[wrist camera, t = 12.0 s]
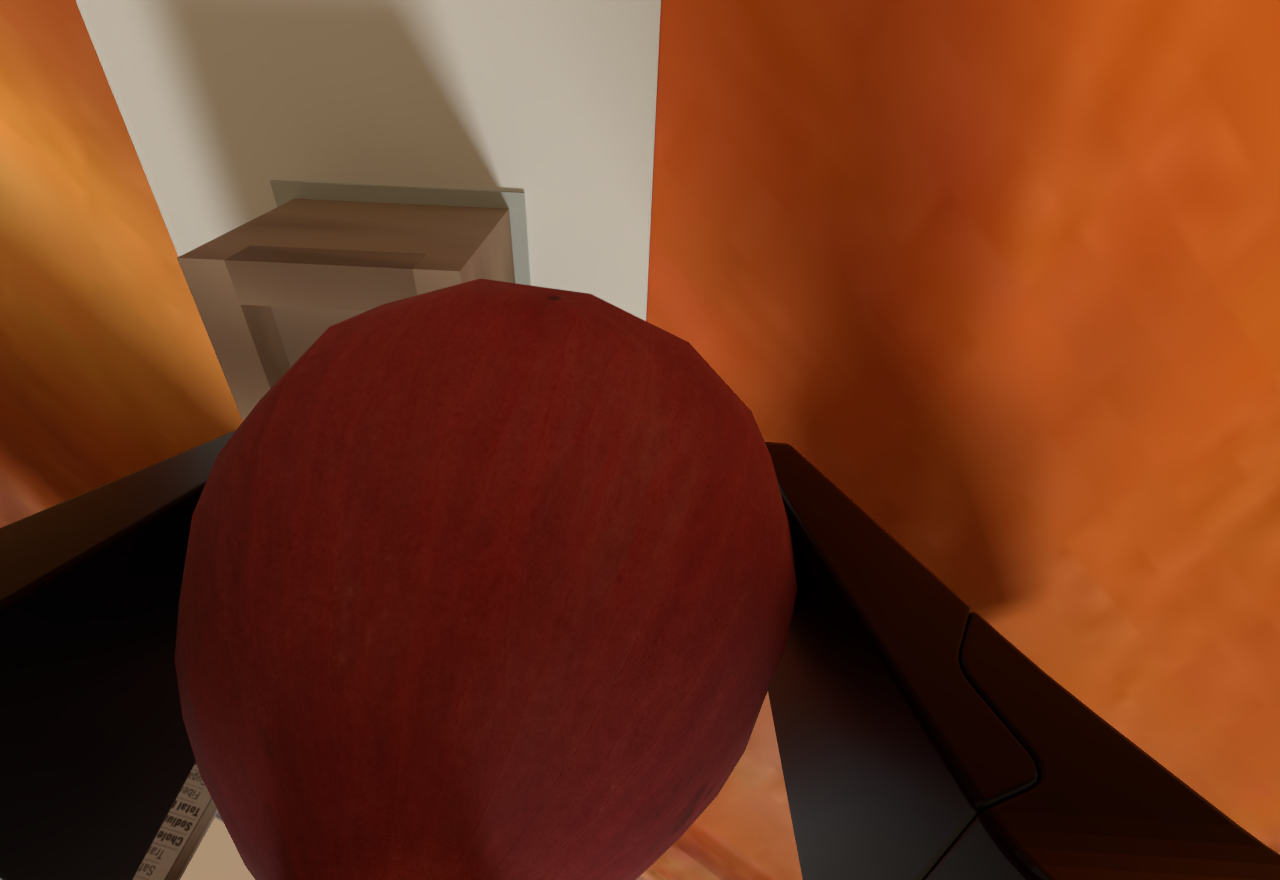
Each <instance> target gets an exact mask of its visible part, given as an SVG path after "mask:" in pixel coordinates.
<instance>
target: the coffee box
mask: <svg viewBox="0 0 1280 880" xmlns="http://www.w3.org/2000/svg"><path fill="white" fill-rule="evenodd" d="M217 812H218V810H217V808H216V806H215V804H214V802H213V800H212V798H211V796H210V794H209V792H208V790H207V788H206V785H205V783H204V781H203V779H202V777H201V775H200V773H199V769H198V766H197V763H195V765H194V767H193V769H192V770H191V772H190V774H189V776H188V778H187V780H186V782H185V783H184V785H183V787H182V789H181V791H180V793H179V795H178V796H177V798H176V800H175V802H174V804H173V806H172V808H171V809H170V811H169V813H168V815H167V817H166V819H165V821H164V822H163V824H162V826H161V828H160V830H159V832H158V834H157V835H156V837H155V839H154V841H153V843H152V845H151V847H150V849H149V850H148V852H147V854H146V856H145V858H144V860H143V862H142V863H141V865H140V867H139V869H138V871H137V873H136V875H135V876H134V878H133V880H180V878H181V877H182V875H183V873H184V871H185V869H186V868H187V866H188V864H189V862H190V861H191V859H192V857H193V855H194V853H195V852H196V850H197V848H198V846H199V845H200V843H201V841H202V839H203V837H204V836H205V834H206V832H207V830H208V828H209V827H210V825H211V823H212V821H213V820H214V818H215V816H216V814H217Z"/></svg>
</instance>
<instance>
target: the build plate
mask: <svg viewBox="0 0 1280 880" xmlns="http://www.w3.org/2000/svg"><path fill="white" fill-rule="evenodd" d="M76 3H77V5H78V8H79V10H80V12H81V15H82V17H83V20H84V22H85V25H86V27H87V30H88V32H89V35H90V37H91V40H92V42H93V45H94V47H95V50H96V52H97V55H98V57H99V60H100V62H101V65H102V67H103V70H104V72H105V75H106V77H107V80H108V82H109V85H110V87H111V90H112V92H113V95H114V97H115V100H116V102H117V105H118V107H119V110H120V112H121V115H122V117H123V120H124V122H125V125H126V127H127V130H128V132H129V135H130V137H131V139H132V142H133V144H134V147H135V149H136V152H137V154H138V157H139V159H140V162H141V164H142V167H143V169H144V172H145V174H146V177H147V179H148V182H149V184H150V187H151V189H152V192H153V194H154V197H155V199H156V202H157V204H158V207H159V209H160V212H161V214H162V217H163V219H164V222H165V224H166V227H167V229H168V232H169V234H170V237H171V239H172V242H173V244H174V247H175V249H176V252H177V254H178V257H180V256H182V255H184V254H186V253H188V252H190V251H192V250H194V249H195V248H197V247H199V246H201V245H203V244H205V243H207V242H209V241H211V240H213V239H215V238H217V237H219V236H221V235H223V234H225V233H227V232H229V231H231V230H233V229H235V228H237V227H239V226H241V225H243V224H245V223H247V222H249V221H251V220H253V219H255V218H257V217H259V216H261V215H263V214H265V213H267V212H269V211H271V210H273V209H275V208H277V207H279V206H281V205H283V204H285V203H287V202H289V201H291V200H293V199H313V200H334V201H355V202H376V203H397V204H418V205H440V206H461V207H482V208H503V209H509V214H510V226H511V238H512V250H513V262H514V274H515V283H516V284H524V285H531V286H538V287H545V288H552V289H560V290H567V291H574V292H581V293H588V294H592V295H594V296H596V297H598V298H600V299H602V300H604V301H606V302H608V303H610V304H612V305H614V306H616V307H618V308H620V309H622V310H624V311H626V312H628V313H630V314H632V315H634V316H636V317H638V318H640V319H642V320H644V321H646V310H647V288H648V267H649V246H650V225H651V204H652V182H653V161H654V140H655V119H656V98H657V76H658V55H659V34H660V13H661V0H76Z"/></svg>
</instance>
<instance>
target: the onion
mask: <svg viewBox="0 0 1280 880" xmlns="http://www.w3.org/2000/svg"><path fill="white" fill-rule="evenodd" d="M796 595H797V582H796V573H795V563H794V554H793V545H792V536H791V530H790V526H789V523H788V519H787V515H786V511H785V508H784V504H783V500H782V496H781V493H780V489H779V485H778V481H777V478H776V474H775V470H774V466H773V463H772V459H771V455H770V453H769V451H768V448H767V446H766V444H765V442H764V439H763V437H762V435H761V432H760V430H759V428H758V426H757V423H756V421H755V419H754V417H753V414H752V412H751V410H750V409H749V408H748V407H747V406H746V405H745V404H744V403H743V402H742V401H741V399H740V398H739V397H738V396H737V395H736V394H735V393H734V392H733V391H732V390H731V388H730V387H729V386H728V385H727V384H726V383H725V382H724V381H723V380H722V379H721V377H720V376H719V375H718V374H717V373H716V372H715V371H714V370H713V369H712V368H711V366H710V365H709V364H708V363H707V362H706V361H705V360H704V359H703V358H702V357H701V355H700V354H699V353H698V352H697V351H696V350H695V349H694V348H693V347H692V346H691V344H690V343H689V342H687V341H685V340H683V339H681V338H679V337H677V336H675V335H673V334H671V333H669V332H666V331H664V330H662V329H660V328H658V327H656V326H654V325H652V324H650V323H648V322H646V321H644V320H642V319H640V318H638V317H636V316H634V315H632V314H630V313H628V312H626V311H624V310H622V309H620V308H618V307H616V306H614V305H612V304H610V303H608V302H606V301H604V300H602V299H600V298H598V297H596V296H594V295H592V294H588V293H581V292H574V291H567V290H560V289H552V288H545V287H538V286H531V285H524V284H516V283H509V282H502V281H495V280H487V279H477V280H473V281H469V282H465V283H462V284H458V285H454V286H450V287H446V288H443V289H439V290H435V291H431V292H428V293H424V294H420V295H416V296H413V297H409V298H405V299H401V300H397V301H394V302H390V303H386V304H382V305H380V306H378V307H375V308H373V309H371V310H368V311H366V312H363V313H361V314H359V315H356V316H354V317H351V318H349V319H347V320H344V321H342V322H340V323H337V324H335V325H332V326H330V327H329V328H328V329H327V330H326V331H325V332H324V333H323V334H322V335H321V336H320V337H319V338H318V339H317V340H316V341H315V342H314V343H313V344H312V346H311V347H310V348H309V349H308V350H307V351H306V352H305V353H304V354H303V355H302V356H301V357H300V358H299V359H298V360H297V361H296V362H295V363H294V365H293V366H292V367H291V368H290V369H289V370H288V371H287V372H286V373H285V374H284V375H283V376H282V377H281V378H280V379H279V380H278V381H277V383H276V384H275V385H274V386H273V387H272V388H271V389H270V390H269V391H268V392H267V393H266V394H265V395H264V396H263V397H262V398H261V399H260V401H259V402H258V403H257V404H256V406H255V407H254V408H253V410H252V411H251V412H250V413H249V415H248V416H247V417H246V419H245V420H244V421H243V422H242V424H241V425H240V426H239V428H238V429H237V430H236V431H235V433H234V434H233V435H232V437H231V438H230V439H229V440H228V442H227V443H226V444H225V446H224V447H223V448H222V449H221V451H220V452H219V453H218V455H217V457H216V460H215V462H214V465H213V467H212V469H211V472H210V474H209V477H208V479H207V481H206V484H205V486H204V489H203V491H202V493H201V496H200V498H199V501H198V503H197V505H196V508H195V510H194V513H193V515H192V520H191V527H190V533H189V540H188V546H187V553H186V559H185V566H184V572H183V579H182V585H181V591H180V598H179V609H178V621H177V634H176V647H175V666H176V674H177V681H178V688H179V695H180V703H181V710H182V717H183V721H184V724H185V727H186V730H187V734H188V737H189V740H190V743H191V747H192V750H193V753H194V756H195V760H196V763H197V766H198V769H199V773H200V775H201V777H202V779H203V781H204V783H205V785H206V788H207V790H208V792H209V794H210V796H211V798H212V800H213V802H214V804H215V806H216V808H217V810H218V812H219V814H220V816H221V818H222V820H223V822H224V824H225V826H226V828H227V830H228V832H229V834H230V836H231V838H232V840H233V842H234V844H235V846H236V848H237V850H238V852H239V854H240V856H241V858H242V860H243V862H244V864H245V866H246V867H247V869H248V870H249V871H250V873H251V874H252V875H253V877H254V878H255V880H636V879H637V878H638V877H639V876H640V875H641V874H642V873H644V872H645V871H646V870H647V869H648V868H649V867H650V866H651V865H652V864H653V863H654V862H655V861H656V860H657V859H658V858H659V857H660V856H662V855H663V854H664V853H665V852H666V851H667V850H668V849H669V848H670V847H671V846H672V845H673V844H674V843H675V842H676V841H677V840H678V839H679V838H680V837H681V836H682V835H683V834H684V832H685V831H686V830H687V829H688V828H689V827H690V826H691V825H692V823H693V822H694V821H695V820H696V819H697V818H698V817H699V816H700V814H701V813H702V812H703V811H704V810H705V809H706V808H707V806H708V805H709V804H710V803H711V802H712V801H713V800H714V799H715V797H716V796H717V795H718V793H719V792H720V790H721V788H722V787H723V785H724V784H725V782H726V780H727V779H728V777H729V776H730V774H731V772H732V771H733V769H734V767H735V766H736V764H737V763H738V761H739V759H740V758H741V756H742V755H743V753H744V751H745V749H746V746H747V744H748V741H749V738H750V736H751V733H752V730H753V728H754V725H755V722H756V720H757V717H758V714H759V712H760V709H761V706H762V704H763V701H764V699H765V696H766V694H767V691H768V689H769V687H770V684H771V682H772V679H773V677H774V674H775V672H776V669H777V667H778V664H779V662H780V660H781V657H782V655H783V652H784V650H785V646H786V641H787V636H788V632H789V627H790V623H791V618H792V613H793V609H794V604H795V600H796Z"/></svg>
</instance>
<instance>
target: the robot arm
mask: <svg viewBox="0 0 1280 880" xmlns="http://www.w3.org/2000/svg"><path fill="white" fill-rule="evenodd" d="M235 431H236V430H235ZM235 431H232V432H230V433H228V434H225V435H223V436H220V437H218V438H216V439H213V440H211V441H208V442H206V443H204V444H201V445H199V446H196V447H194V448H192V449H189V450H187V451H184V452H182V453H180V454H177V455H175V456H172V457H170V458H167V459H165V460H163V461H160V462H158V463H155V464H153V465H151V466H148V467H146V468H143V469H141V470H139V471H136V472H134V473H131V474H129V475H127V476H124V477H122V478H119V479H117V480H115V481H112V482H110V483H107V484H105V485H103V486H100V487H98V488H95V489H93V490H91V491H88V492H86V493H83V494H81V495H79V496H76V497H74V498H71V499H69V500H67V501H64V502H62V503H59V504H57V505H55V506H52V507H50V508H47V509H45V510H43V511H40V512H38V513H35V514H33V515H31V516H28V517H26V518H23V519H21V520H19V521H16V522H14V523H11V524H9V525H7V526H4V527H2V528H0V880H133V878H134V876H135V875H136V873H137V871H138V869H139V867H140V865H141V863H142V862H143V860H144V858H145V856H146V854H147V852H148V850H149V849H150V847H151V845H152V843H153V841H154V839H155V837H156V835H157V834H158V832H159V830H160V828H161V826H162V824H163V822H164V821H165V819H166V817H167V815H168V813H169V811H170V809H171V808H172V806H173V804H174V802H175V800H176V798H177V796H178V795H179V793H180V791H181V789H182V787H183V785H184V783H185V782H186V780H187V778H188V776H189V774H190V772H191V770H192V769H193V767H194V765H195V763H196V760H195V756H194V753H193V750H192V747H191V743H190V740H189V737H188V734H187V730H186V727H185V724H184V721H183V717H182V710H181V703H180V695H179V688H178V681H177V674H176V666H175V647H176V634H177V621H178V609H179V598H180V591H181V585H182V579H183V572H184V566H185V559H186V553H187V546H188V540H189V533H190V527H191V520H192V515H193V513H194V510H195V508H196V505H197V503H198V501H199V498H200V496H201V493H202V491H203V489H204V486H205V484H206V481H207V479H208V477H209V474H210V472H211V469H212V467H213V465H214V462H215V460H216V457H217V455H218V453H219V452H220V451H221V449H222V448H223V447H224V446H225V444H226V443H227V442H228V440H229V439H230V438H231V437H232V435H233V434H234V433H235ZM765 444H766V446H767V448H768V451H769V453H770V455H771V459H772V463H773V466H774V470H775V474H776V478H777V481H778V485H779V489H780V493H781V496H782V500H783V504H784V508H785V511H786V515H787V519H788V523H789V526H790V530H791V536H792V545H793V554H794V563H795V573H796V582H797V595H796V600H795V604H794V609H793V613H792V618H791V623H790V627H789V632H788V636H787V641H786V646H785V650H784V652H783V655H782V657H781V660H780V662H779V664H778V667H777V669H776V672H775V674H774V677H773V679H772V682H771V684H770V687H769V689H768V694H769V699H770V704H771V710H772V715H773V721H774V726H775V731H776V737H777V742H778V748H779V753H780V759H781V764H782V769H783V775H784V780H785V786H786V791H787V796H788V802H789V807H790V813H791V818H792V824H793V829H794V834H795V840H796V845H797V851H798V856H799V861H800V867H801V872H802V878H803V880H1280V854H1278V853H1277V852H1275V851H1274V850H1272V849H1271V848H1269V847H1267V846H1266V845H1265V844H1263V843H1262V842H1261V841H1259V840H1258V839H1257V838H1255V837H1254V836H1252V835H1251V834H1250V833H1248V832H1247V831H1246V830H1244V829H1243V828H1242V827H1240V826H1239V825H1238V824H1236V823H1235V822H1234V821H1232V820H1231V819H1230V818H1229V817H1227V816H1226V815H1225V814H1224V813H1222V812H1221V811H1220V810H1218V809H1217V808H1216V807H1215V806H1213V805H1212V804H1211V803H1209V802H1208V801H1207V800H1206V799H1204V798H1203V797H1202V796H1200V795H1199V794H1198V793H1197V792H1195V791H1194V790H1193V789H1192V788H1190V787H1189V786H1188V785H1186V784H1185V783H1184V782H1183V781H1181V780H1180V779H1179V778H1177V777H1176V776H1175V775H1174V774H1172V773H1171V772H1170V771H1168V770H1167V769H1166V768H1165V767H1163V766H1162V765H1161V764H1160V763H1158V762H1157V761H1156V760H1154V759H1153V758H1152V757H1151V756H1149V755H1148V754H1147V753H1145V752H1144V751H1143V750H1142V749H1140V748H1139V747H1138V746H1136V745H1135V744H1134V743H1133V742H1131V741H1130V740H1129V739H1128V738H1126V737H1125V736H1124V735H1122V734H1121V733H1120V732H1119V731H1117V730H1116V729H1115V728H1113V727H1112V726H1111V725H1110V724H1108V723H1107V722H1106V721H1105V720H1103V719H1102V718H1101V717H1099V716H1098V715H1097V714H1096V713H1094V712H1093V711H1092V710H1091V709H1089V708H1088V707H1087V706H1086V705H1084V704H1083V703H1082V702H1081V701H1080V700H1078V699H1077V698H1076V697H1075V696H1073V695H1072V694H1071V693H1070V692H1068V691H1067V690H1066V689H1065V688H1063V687H1062V686H1061V685H1060V684H1058V683H1057V682H1056V681H1055V680H1053V679H1052V678H1051V677H1050V676H1049V675H1047V674H1046V673H1045V672H1044V671H1043V670H1041V669H1040V668H1039V667H1038V666H1037V665H1036V664H1034V663H1033V662H1032V661H1031V660H1030V659H1029V658H1028V657H1026V656H1025V655H1024V654H1023V653H1022V652H1021V651H1019V650H1018V649H1017V648H1016V647H1015V646H1014V645H1013V644H1011V643H1010V642H1009V641H1008V640H1007V639H1006V638H1004V637H1003V636H1002V635H1001V634H1000V633H999V632H998V631H997V630H995V629H994V628H993V627H992V626H991V625H990V624H989V623H988V622H987V621H985V620H984V619H983V618H982V617H981V616H980V615H979V614H978V613H976V612H972V613H970V612H971V608H970V606H968V605H967V604H966V603H965V602H964V601H963V600H962V599H961V598H960V597H958V596H957V595H956V594H955V593H954V592H953V591H952V590H951V589H950V588H948V587H947V586H946V585H945V584H944V583H943V582H942V581H941V580H940V579H939V578H937V577H936V576H935V575H934V574H933V573H932V572H931V571H930V570H929V569H927V568H926V567H925V566H924V565H923V564H922V563H921V562H920V561H919V560H917V559H916V558H915V557H914V556H913V555H912V554H911V553H910V552H909V551H907V550H906V549H905V548H904V547H903V546H902V545H901V544H900V543H899V542H897V541H896V540H895V539H894V538H893V537H892V536H891V535H890V534H889V533H887V532H886V531H885V530H884V529H883V528H882V527H881V526H880V525H879V524H877V523H876V522H875V521H874V520H873V519H872V518H871V517H870V516H869V515H867V514H866V513H865V512H864V511H863V510H862V509H861V508H860V507H859V506H857V505H856V504H855V503H854V502H853V501H852V500H851V499H850V498H849V497H847V496H846V495H845V494H844V493H843V492H842V491H841V490H840V489H839V488H837V487H836V486H835V485H834V484H833V483H832V482H831V481H830V480H829V479H827V478H826V477H825V476H824V475H823V474H822V473H821V472H820V471H819V470H817V469H816V468H815V467H814V466H813V465H812V464H811V463H810V462H809V461H807V460H806V459H805V458H804V457H803V456H802V455H801V454H800V453H799V452H797V451H796V450H795V449H794V448H793V447H792V446H790V445H789V444H786V443H773V442H765Z"/></svg>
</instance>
